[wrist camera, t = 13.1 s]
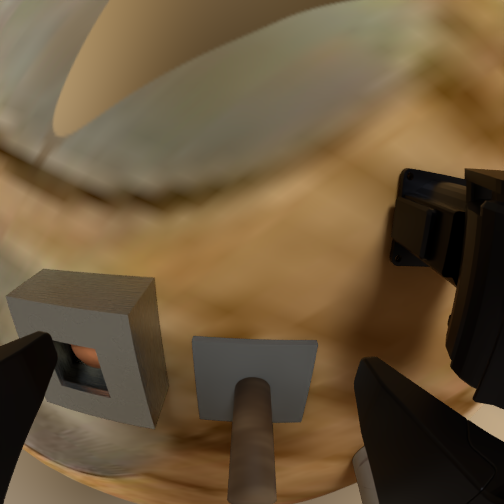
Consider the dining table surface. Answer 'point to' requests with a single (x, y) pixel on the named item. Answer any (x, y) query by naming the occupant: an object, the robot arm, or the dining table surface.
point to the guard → (98, 341)
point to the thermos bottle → (364, 477)
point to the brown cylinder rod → (252, 445)
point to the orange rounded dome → (86, 355)
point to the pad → (252, 374)
